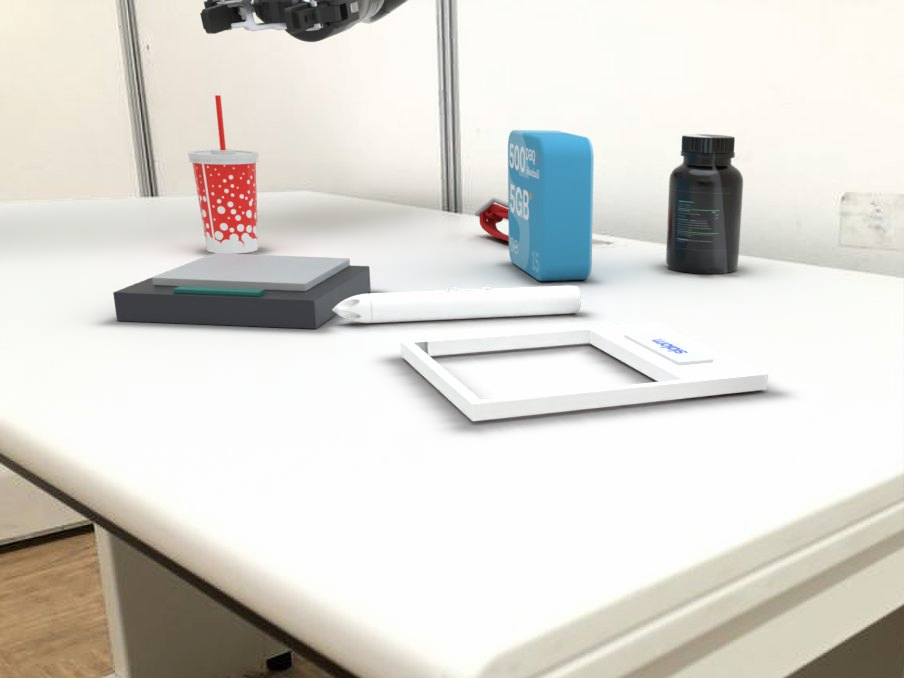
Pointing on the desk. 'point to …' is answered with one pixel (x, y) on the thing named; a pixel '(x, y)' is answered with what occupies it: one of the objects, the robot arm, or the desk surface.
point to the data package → (550, 204)
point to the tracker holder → (493, 217)
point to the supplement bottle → (704, 207)
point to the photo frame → (639, 345)
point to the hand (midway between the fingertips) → (247, 21)
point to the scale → (245, 291)
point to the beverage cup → (227, 195)
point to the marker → (460, 304)
